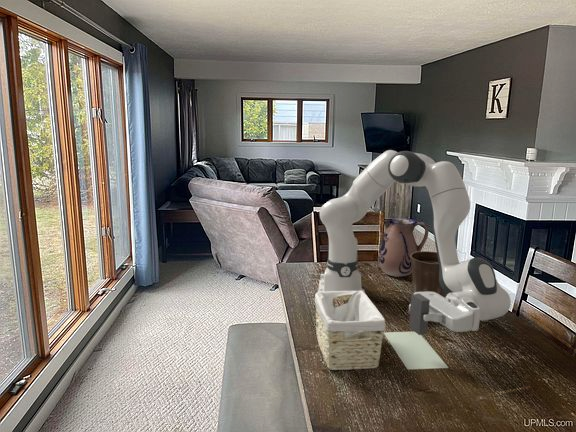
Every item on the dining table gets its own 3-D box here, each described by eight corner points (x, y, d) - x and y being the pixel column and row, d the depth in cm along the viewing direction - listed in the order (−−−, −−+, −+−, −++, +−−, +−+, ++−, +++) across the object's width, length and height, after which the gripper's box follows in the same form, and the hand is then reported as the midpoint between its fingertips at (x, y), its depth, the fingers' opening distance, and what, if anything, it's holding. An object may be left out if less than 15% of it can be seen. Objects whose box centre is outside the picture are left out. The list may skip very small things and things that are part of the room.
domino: (409, 327, 125) (411, 294, 123) (416, 326, 125) (419, 293, 123) (419, 335, 120) (421, 301, 118) (427, 334, 121) (430, 300, 119)
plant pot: (451, 306, 162) (454, 265, 159) (406, 300, 167) (408, 260, 164) (450, 291, 177) (453, 253, 174) (408, 286, 182) (411, 249, 179)
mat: (383, 333, 139) (383, 332, 139) (418, 332, 140) (418, 331, 140) (407, 371, 118) (407, 369, 118) (448, 369, 119) (448, 367, 119)
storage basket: (312, 333, 139) (313, 290, 136) (362, 332, 141) (364, 288, 138) (325, 374, 116) (327, 322, 113) (385, 372, 117) (387, 320, 115)
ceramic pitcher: (374, 267, 207) (376, 216, 202) (418, 268, 207) (422, 217, 202) (380, 280, 190) (383, 224, 185) (429, 281, 189) (433, 225, 185)
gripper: (437, 284, 134) (397, 288, 130) (484, 311, 115) (439, 317, 111) (435, 303, 136) (396, 308, 132) (481, 333, 116) (437, 339, 112)
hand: (416, 312), depth 121 cm, fingers closed on domino, 5 cm apart
